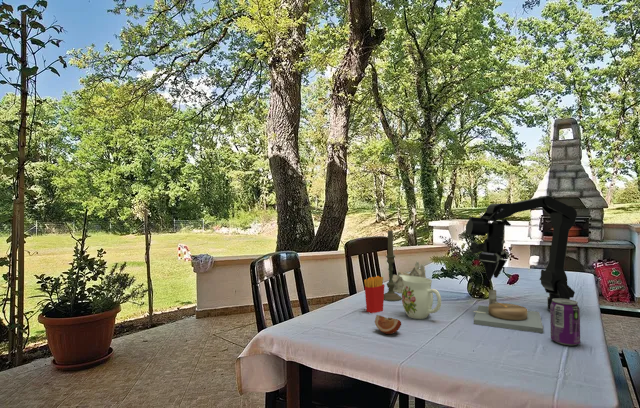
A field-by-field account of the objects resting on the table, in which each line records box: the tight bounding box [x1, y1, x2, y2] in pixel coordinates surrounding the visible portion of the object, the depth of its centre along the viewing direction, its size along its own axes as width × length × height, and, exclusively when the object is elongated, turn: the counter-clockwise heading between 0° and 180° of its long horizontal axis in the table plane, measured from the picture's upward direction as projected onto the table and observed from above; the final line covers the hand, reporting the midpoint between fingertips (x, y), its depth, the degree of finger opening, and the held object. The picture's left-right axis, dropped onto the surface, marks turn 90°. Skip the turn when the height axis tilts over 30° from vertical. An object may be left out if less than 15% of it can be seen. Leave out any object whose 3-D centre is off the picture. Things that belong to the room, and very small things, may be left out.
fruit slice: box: [374, 314, 402, 335], centre depth 114 cm, size 8×7×5 cm
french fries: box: [363, 275, 385, 314], centre depth 138 cm, size 9×4×13 cm, turn 127°
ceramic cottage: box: [392, 261, 427, 294], centre depth 172 cm, size 16×16×15 cm
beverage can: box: [549, 298, 581, 347], centre depth 104 cm, size 7×7×12 cm
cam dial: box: [487, 289, 528, 320], centre depth 128 cm, size 17×12×6 cm
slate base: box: [472, 305, 544, 334], centre depth 126 cm, size 21×20×2 cm
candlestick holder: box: [384, 229, 402, 302], centre depth 157 cm, size 9×9×30 cm
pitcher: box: [399, 275, 442, 320], centre depth 130 cm, size 11×18×14 cm, turn 36°
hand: (492, 278), depth 135 cm, fingers open, 9 cm apart
